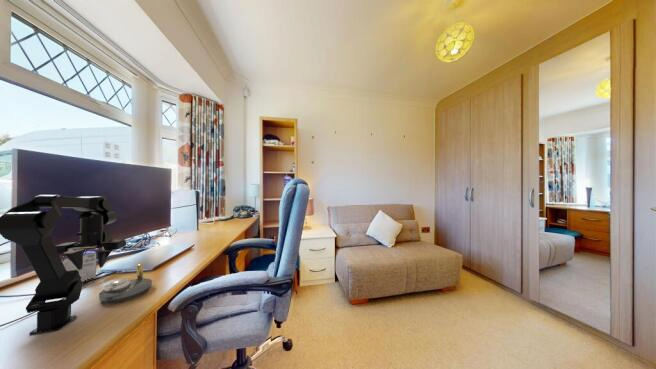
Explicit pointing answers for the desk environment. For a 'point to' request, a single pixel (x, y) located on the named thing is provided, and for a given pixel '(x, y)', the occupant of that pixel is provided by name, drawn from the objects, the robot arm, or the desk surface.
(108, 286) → the cover
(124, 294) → the turntable
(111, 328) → the desk surface
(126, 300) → the turntable base
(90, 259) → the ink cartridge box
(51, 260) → the robot arm
